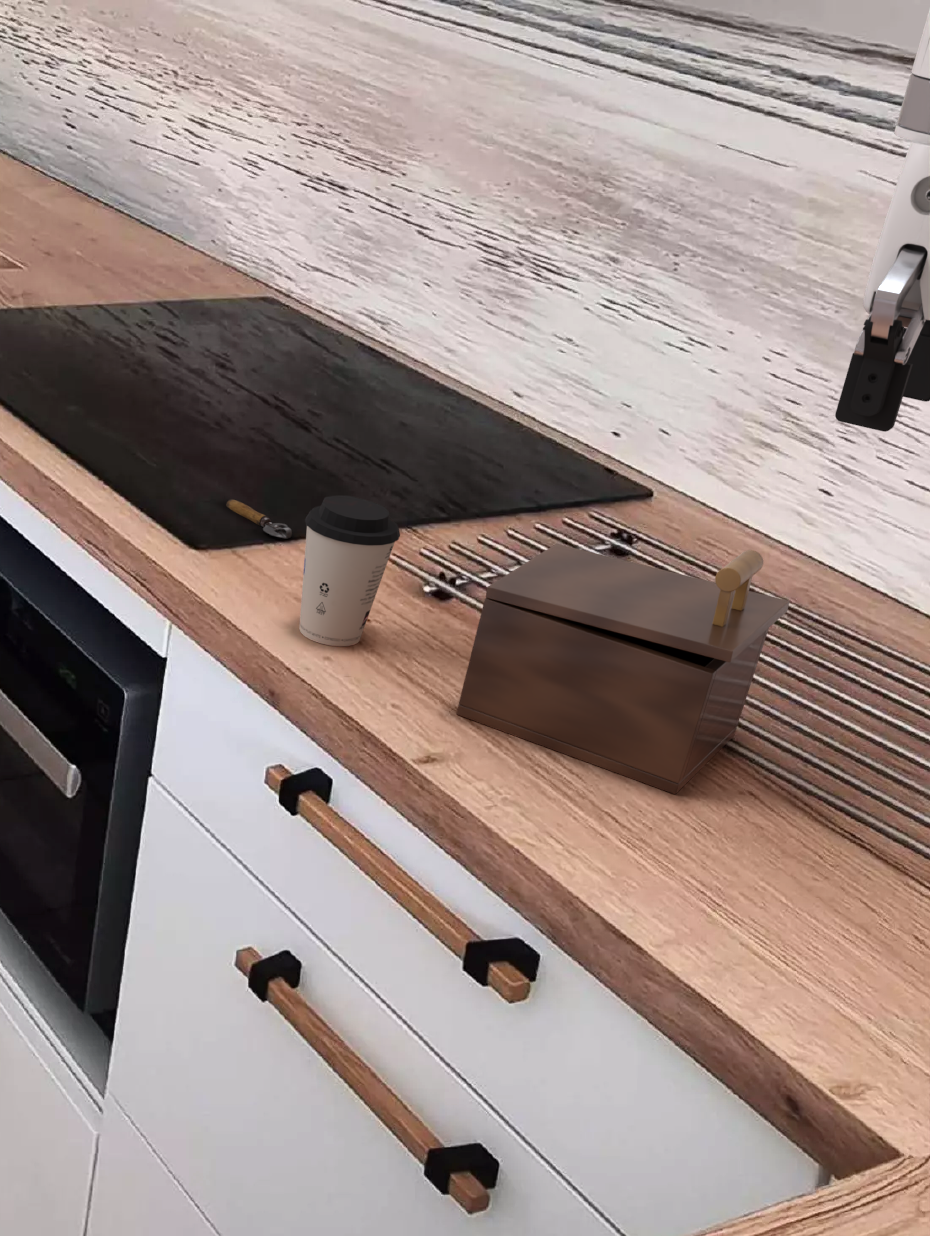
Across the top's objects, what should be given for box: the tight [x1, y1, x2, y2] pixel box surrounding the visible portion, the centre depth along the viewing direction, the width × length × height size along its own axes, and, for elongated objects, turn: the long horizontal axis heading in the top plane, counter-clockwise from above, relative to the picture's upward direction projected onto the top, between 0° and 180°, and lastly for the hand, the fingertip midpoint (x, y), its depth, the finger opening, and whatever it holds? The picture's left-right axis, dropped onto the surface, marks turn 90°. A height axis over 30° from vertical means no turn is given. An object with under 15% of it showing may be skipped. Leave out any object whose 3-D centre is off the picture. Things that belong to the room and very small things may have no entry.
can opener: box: [225, 498, 293, 540], centre depth 169 cm, size 9×2×1 cm, turn 21°
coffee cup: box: [298, 495, 401, 647], centre depth 147 cm, size 7×7×10 cm
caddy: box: [456, 597, 770, 795], centre depth 137 cm, size 16×13×9 cm
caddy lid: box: [485, 543, 791, 662], centre depth 133 cm, size 16×13×5 cm
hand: (884, 410), depth 120 cm, fingers open, 9 cm apart
